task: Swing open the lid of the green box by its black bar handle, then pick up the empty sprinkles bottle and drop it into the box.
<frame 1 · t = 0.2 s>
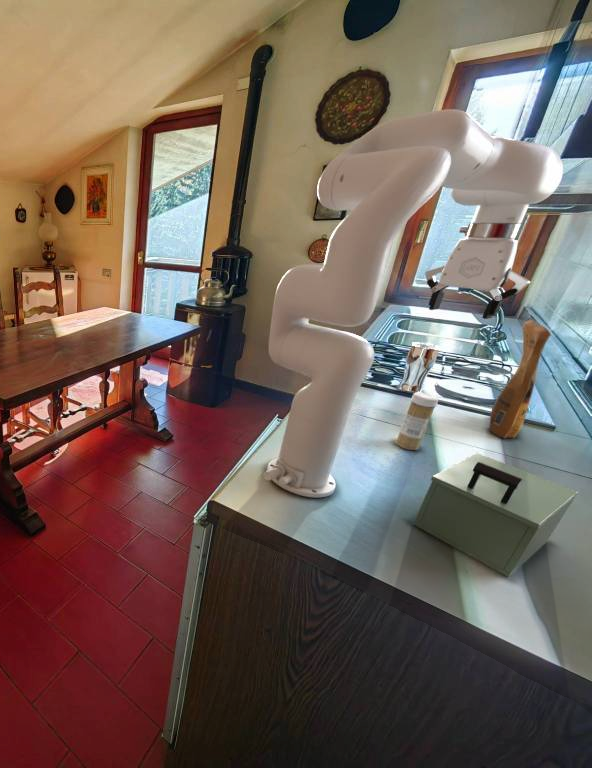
hand: (459, 313, 88), 31 cm above the counter, tool pointing down, fingers open, 9 cm apart
bin lid: (508, 474, 63), point 13 cm above the counter, hinge at 0.0°
green box: (477, 533, 68), on the counter
sprinkles bottle: (405, 446, 94), on the counter
beer glass: (408, 390, 127), on the counter
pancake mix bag: (498, 427, 104), on the counter
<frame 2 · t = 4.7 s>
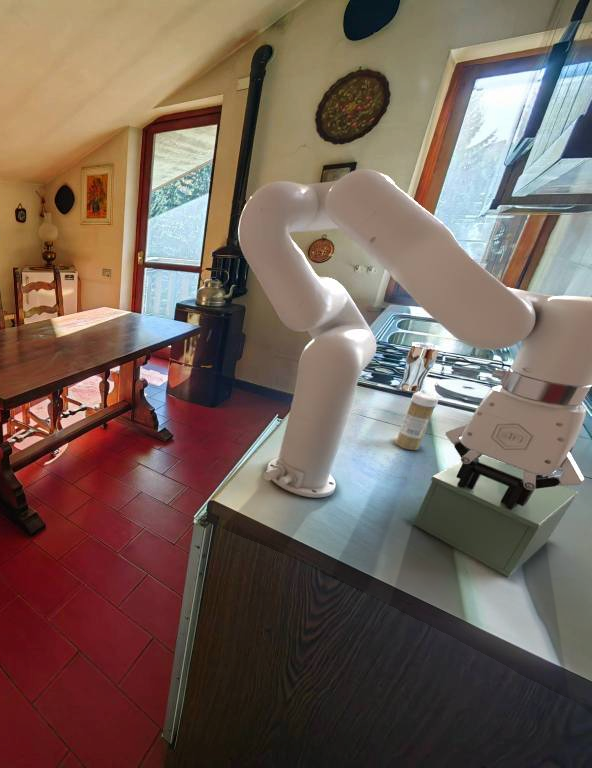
hand: (487, 493, 61), 11 cm above the counter, tool pointing down, fingers closed on bin lid, 5 cm apart
bin lid: (508, 474, 63), point 13 cm above the counter, hinge at -0.1°, touching gripper
everything else where it was.
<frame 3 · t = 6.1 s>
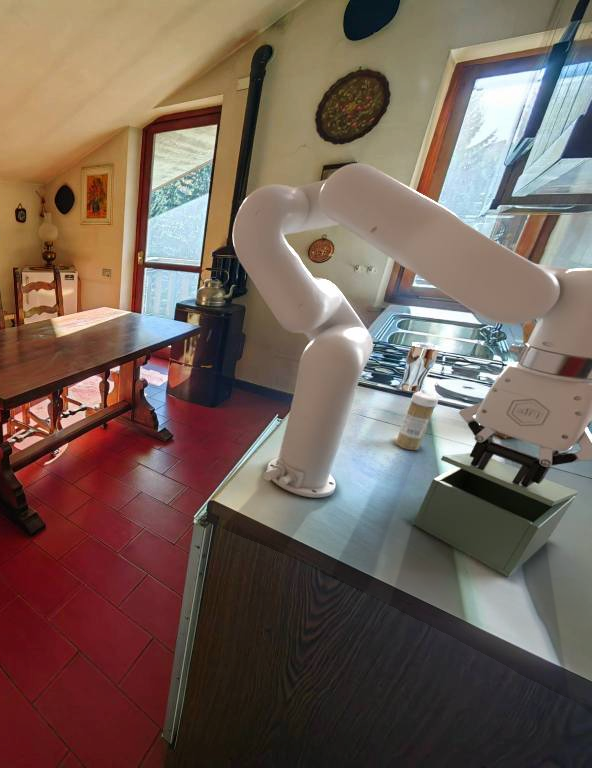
hand: (501, 472, 60), 14 cm above the counter, tool pointing down, fingers closed on bin lid, 5 cm apart
bin lid: (516, 463, 62), point 14 cm above the counter, hinge at 13.8°, touching gripper
everything else where it was.
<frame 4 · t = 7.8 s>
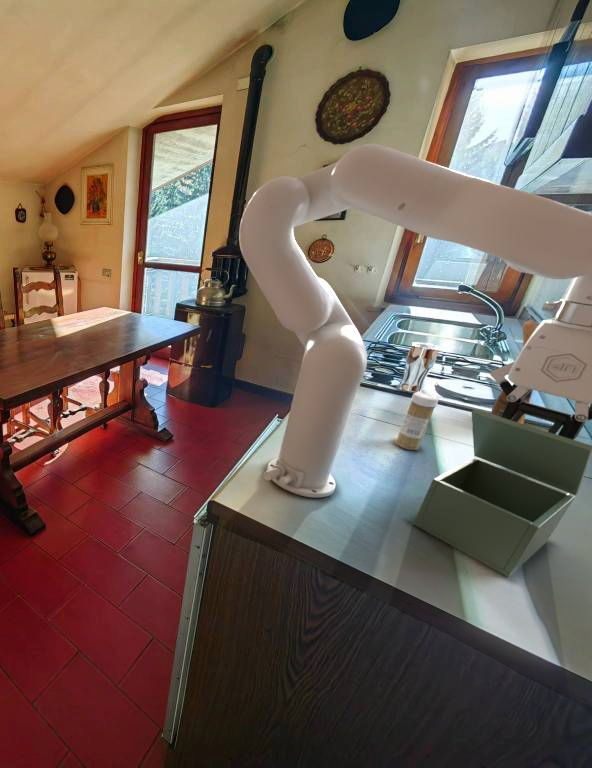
hand: (534, 431, 60), 20 cm above the counter, tool pointing down, fingers closed on bin lid, 5 cm apart
bin lid: (533, 440, 62), point 18 cm above the counter, hinge at 45.2°, touching gripper
everything else where it was.
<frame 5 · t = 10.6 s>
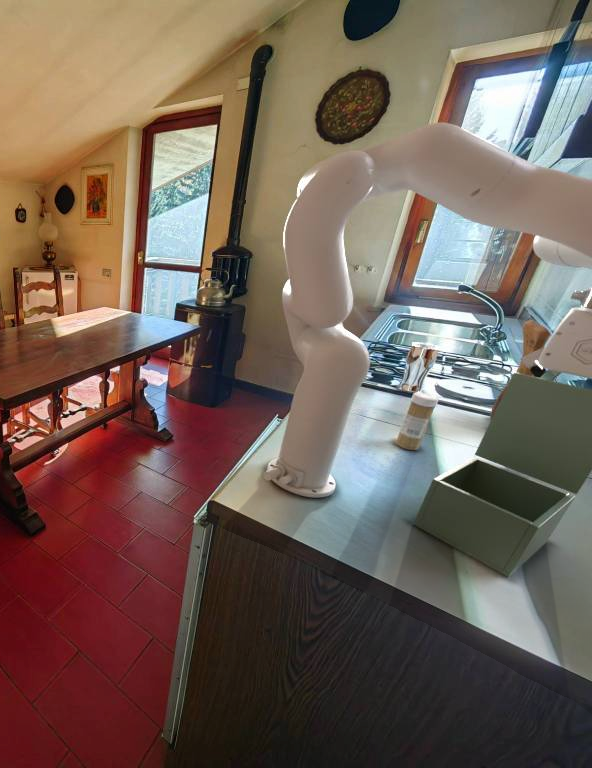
hand: (563, 411, 65), 21 cm above the counter, tool pointing down, fingers closed on bin lid, 5 cm apart
bin lid: (550, 428, 65), point 18 cm above the counter, hinge at 89.4°, touching gripper
everything else where it was.
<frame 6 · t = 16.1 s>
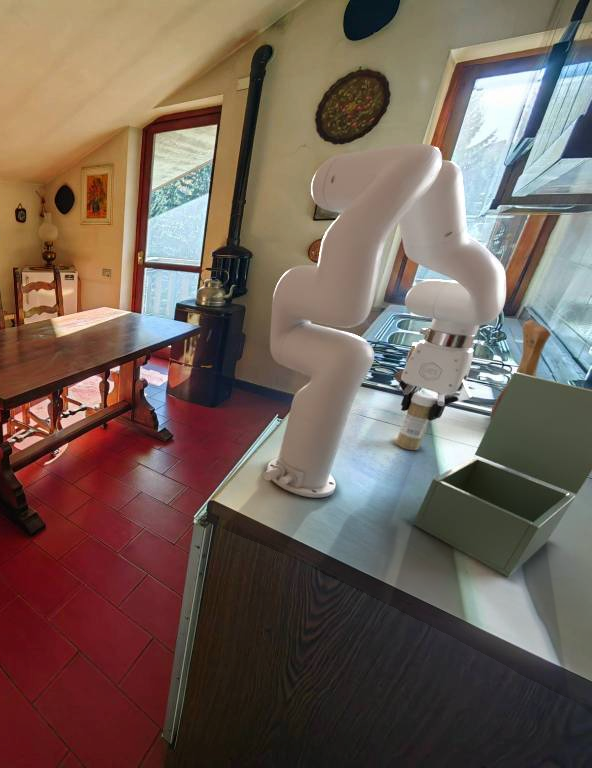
hand: (419, 413, 91), 9 cm above the counter, tool pointing down, fingers closed on sprinkles bottle, 4 cm apart
bin lid: (550, 428, 65), point 18 cm above the counter, hinge at 89.6°
sprinkles bottle: (405, 446, 94), on the counter, touching gripper
everything else where it was.
when the fingers open (17 cm above the counter, at t = 25.7 s): sprinkles bottle drops 7 cm, resting on green box.
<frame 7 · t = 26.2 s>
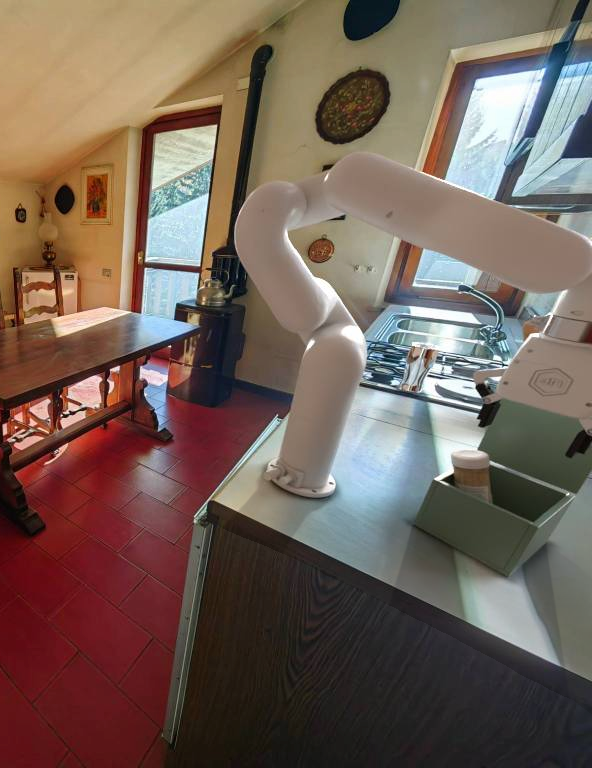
hand: (524, 439, 60), 19 cm above the counter, tool pointing down, fingers open, 9 cm apart
sprinkles bottle: (475, 527, 67), point 1 cm above the counter, touching green box
everything else where it was.
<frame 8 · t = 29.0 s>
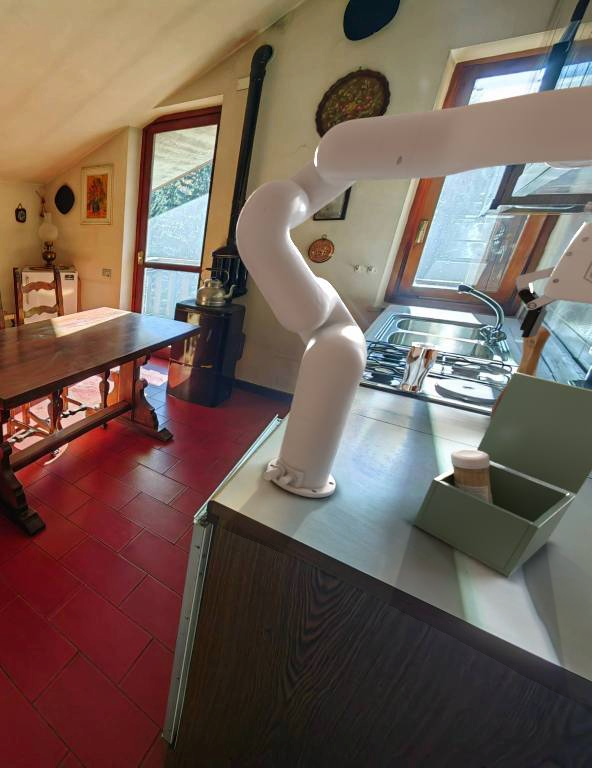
hand: (576, 345, 54), 34 cm above the counter, tool pointing down, fingers open, 9 cm apart
nothing on the counter moved.
at the end: bin lid at +90° (first picture: +0°); sprinkles bottle inside the target area in the green box (1.0 cm from its centre), point 1.4 cm above the green box's base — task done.
